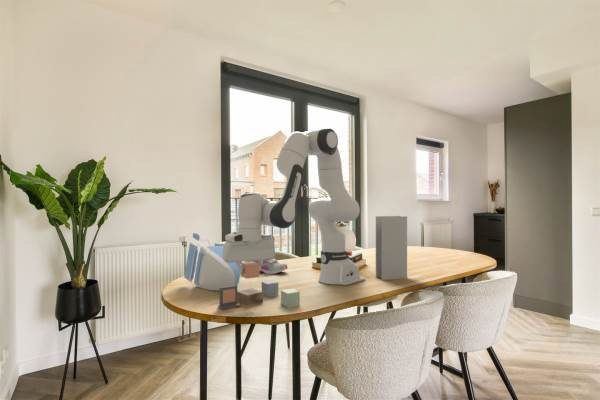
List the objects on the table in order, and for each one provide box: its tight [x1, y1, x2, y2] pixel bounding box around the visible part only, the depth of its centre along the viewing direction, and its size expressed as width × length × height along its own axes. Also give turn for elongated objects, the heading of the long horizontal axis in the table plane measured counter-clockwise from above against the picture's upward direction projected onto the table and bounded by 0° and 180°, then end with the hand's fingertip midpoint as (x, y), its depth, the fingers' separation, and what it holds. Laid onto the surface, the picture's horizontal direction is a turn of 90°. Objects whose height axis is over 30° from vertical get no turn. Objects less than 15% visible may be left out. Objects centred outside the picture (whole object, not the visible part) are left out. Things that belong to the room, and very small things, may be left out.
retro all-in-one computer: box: [183, 232, 241, 291], centre depth 147 cm, size 25×23×17 cm
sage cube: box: [280, 288, 301, 308], centre depth 123 cm, size 5×5×5 cm
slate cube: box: [261, 279, 279, 297], centre depth 137 cm, size 5×5×5 cm
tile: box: [217, 285, 241, 311], centre depth 120 cm, size 7×3×7 cm, turn 123°
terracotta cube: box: [240, 261, 260, 280], centre depth 126 cm, size 5×5×5 cm
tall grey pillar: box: [375, 215, 408, 281], centre depth 165 cm, size 14×6×30 cm, turn 108°
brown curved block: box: [237, 287, 264, 307], centre depth 127 cm, size 7×7×4 cm
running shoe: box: [250, 257, 288, 275], centre depth 178 cm, size 9×22×10 cm, turn 70°
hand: (249, 272), depth 126 cm, fingers closed on terracotta cube, 5 cm apart
